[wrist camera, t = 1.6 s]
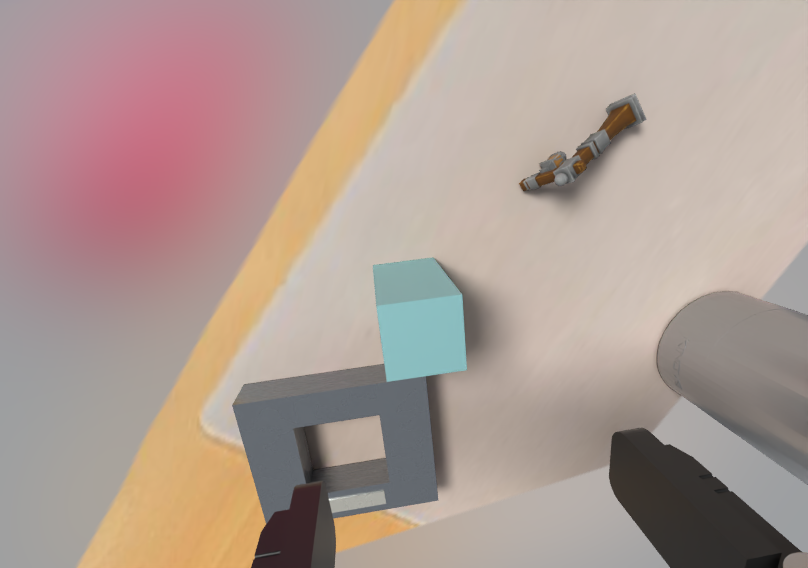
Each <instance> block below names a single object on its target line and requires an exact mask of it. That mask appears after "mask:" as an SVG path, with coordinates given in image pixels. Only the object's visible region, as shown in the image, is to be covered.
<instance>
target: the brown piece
mask: <svg viewBox="0 0 808 568" xmlns="http://www.w3.org/2000/svg"><path fill="white" fill-rule="evenodd" d="M606 110H607V113H608V115H609V116H608V118H607V119H606V120H605V122H604V123H603V125H602V126H601V127H600V129H599V130H598V131H597V132H596V133H593V134H591V135H590V136H589V138H588V139H587V140H586V141H585V142H583V143H582V144H581V145H580V146H578V148H577V149H576V150H577V152H576V153H575V155H574V156H573V157H572V158H570V159H567V160H566V154H565V153H564V152H561V151H560V152H557V153H555V154H552V155H551V156H550V157H549V159H548V160H547V161H544V162H541V163H539V164H540V166H541V168H542V169H541V170H539V171H540V173H537V174H534V175H531V176H530V177H528V178H526V179H523V180H522V181H521V182H520V183H519V184H520V186H521V188H522V190H523V191H526V190H529V189H531V190H533V189H537V188H540V187H541V186H542V185H545V184H548V183H551V182H555V184H556V185H558V186H563V185H565V184H568V183H571V182H574V181H575V179H576V178H577V177H578V176H579V175H580V174H581V173H582V172H583V171H584V170H586V168H587V167H586V165H587V164H588V163H589V162H590V161H591V160H593V159H596V158H597V157H598V156H600V155H599V154H602V152H603V150H604V149H605V148H606V147H607V146H608V145H609V144H611V142H610V140H611V139H612V138H613V137H614V136H615V135H617V134H618V133H619V132H621V131H622V130H623V129H626V128H629V127H631V126H634V125H637V124H640V123H642V122H643V121H645V120H646V117H645V115H644V113H643V110H642V108H641V106H640V103H639V101H638V99H637V96H636V94H635V93H634V94H632V95H630V96H628V97H625V98H623V99H621V100H619V101H616V102H614V103H612V104H610V105H609V106H608V107H607V108H606Z"/></svg>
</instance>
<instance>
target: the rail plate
mask: <svg viewBox="0 0 808 568" xmlns="http://www.w3.org/2000/svg"><path fill="white" fill-rule="evenodd" d="M232 406H233V409H234V413H235V416H236V420H237V423H238V427H239V430H240V434H241V437H242V441H243V444H244V448H245V451H246V455H247V458H248V462H249V465H250V469H251V472H252V476H253V479H254V483H255V486H256V489H257V493H258V496H259V500H260V503H261V507H262V510H263V514H264V517H265V521H266V524H267V523H268V521H269V520H270V518H271V517H272V515H273V514H274V512H277V511H282V510H288V509H289V508H290V504H291V499H292V494H293V490H294V487H295V486H296V485H301V484H306V483H312V482H318V481H325V484H326V488H327V492H328V497H329V502H330V506H331V511H332V516H333V518H339V517H345V516H350V515H356V514H362V513H368V512H373V511H379V510H385V509H391V508H397V507H402V506H408V505H414V504H420V503H426V502H431V501H437V500H438V493H437V483H436V473H435V463H434V453H433V443H432V433H431V423H430V413H429V403H428V393H427V383H426V376H424V377H417V378H410V379H403V380H397V381H390V382H387V379H386V372H385V365H384V364H381V365H374V366H367V367H360V368H354V369H347V370H340V371H333V372H326V373H319V374H313V375H306V376H299V377H292V378H285V379H278V380H272V381H265V382H258V383H251V384H244V385H243V387H242V389H241V391H240V392H239V394H238V396H237V398H236V400H235V401H234V403H233V405H232ZM376 415H380V421H381V427H382V434H383V441H384V448H385V454H386V458H384V459H377V460H371V461H365V462H359V463H353V464H347V465H341V466H335V467H329V468H322V469H316V470H313V467H312V462H311V458H310V453H309V449H308V444H307V440H306V435H305V431H304V427H305V426H311V425H318V424H324V423H331V422H337V421H344V420H350V419H356V418H363V417H369V416H376Z"/></svg>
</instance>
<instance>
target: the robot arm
mask: <svg viewBox="0 0 808 568" xmlns="http://www.w3.org/2000/svg"><path fill="white" fill-rule="evenodd" d="M657 364H658V368H659V372H660V375H661V377H662V378H663V380H664V382H665V383H666V384H667V385H668V386H669V387H671V388H672V389H673V390H675V391H676V392H677V393H679V394H680V395H682V396H683V397H684V398H686V399H687V400H689V401H690V402H692V403H693V404H694V405H696V406H697V407H699V408H700V409H701V410H703V411H704V412H706V413H707V414H708V415H710V416H711V417H712V418H714V419H715V420H717V421H718V422H719V423H721V424H722V425H724V426H725V427H727V428H728V429H729V430H731V431H732V432H734V433H735V434H736V435H738V436H739V437H741V438H742V439H743V440H745V441H746V442H748V443H749V444H751V445H752V446H753V447H755V448H756V449H758V450H759V451H760V452H762V453H763V454H765V455H766V456H767V457H769V458H770V459H772V460H773V461H775V462H776V463H777V464H779V465H780V466H781V467H783V468H785V469H786V470H787V471H789V472H790V473H791V474H793V475H794V476H796V477H797V478H798V479H800V480H801V481H803V482H804V483H805V484H807V485H808V315H806V314H803V313H800V312H797V311H794V310H791V309H788V308H785V307H782V306H779V305H776V304H772V303H769V302H766V301H763V300H760V299H757V298H754V297H751V296H748V295H745V294H742V293H739V292H731V291H723V292H715V293H712V294H709V295H706V296H703V297H701V298H699V299H697V300H695V301H694V302H692V303H690V304H689V305H688V306H686V307H685V308H684V309H683V310H681V311H680V312H679V313H678V314H677V315H676V317H675V318H674V319H673V320H672V321H671V322H670V324H669V325H668V327H667V329H666V330H665V332H664V334H663V336H662V339H661V341H660V344H659V348H658V353H657ZM609 479H610V484H611V487H612V489H613V492H614V494H615V496H616V498H617V499H618V501H619V502H620V503H621V504H622V506H623V507H624V508H625V510H626V511H627V512H628V514H629V515H630V516H631V517H632V519H633V520H634V521H635V523H636V524H637V525H638V526H639V528H640V529H641V530H642V532H643V533H644V534H645V536H646V537H647V538H648V539H649V541H650V542H651V543H652V545H653V546H654V547H655V548H656V550H657V551H658V552H659V554H660V555H661V556H662V557H663V559H664V560H665V561H666V563H667V564H668V565H669V567H670V568H808V553H804V552H802V551H800V550H799V549H798V548H797V547H795V546H794V545H793V544H792V543H791V542H789V540H787V539H786V538H785V537H784V536H783V535H782V534H780V533H779V532H778V531H777V530H776V529H775V528H774V527H772V526H771V525H770V524H769V523H768V522H767V521H765V520H764V519H763V518H762V517H761V516H760V515H759V514H757V513H756V512H755V511H754V510H753V509H752V508H750V507H749V506H748V505H747V504H746V503H745V502H744V501H743V500H741V499H740V498H739V497H738V496H737V495H736V494H735V493H733V492H730V491H729V490H728V487H726V486H725V485H724V484H723V483H722V482H721V481H720V480H718V479H717V478H716V477H713V476H712V474H711V473H710V472H709V471H708V470H707V469H706V468H705V467H703V466H702V465H701V464H700V463H699V462H698V461H696V460H695V459H694V458H693V457H692V456H690V455H688V454H686V453H684V452H682V451H681V450H679V449H677V448H675V447H673V446H671V445H664V444H662V443H661V442H660V441H659V440H658V439H657V438H656V437H655V436H654V435H653V434H652V433H650V432H649V431H648V430H646V429H644V428H637V429H631V430H625V431H619V432H615V433H614V434H613V436H612V444H611V456H610V469H609ZM335 552H336V537H335V526H334V520H333V516H332V511H331V506H330V502H329V497H328V492H327V488H326V484H325V481H318V482H312V483H306V484H301V485H296V486H295V487H294V490H293V494H292V499H291V504H290V508H289V509H288V510H282V511H277V512H274V514H273V515H272V517H271V518H270V520H269V521H268V523H267V524H266V526H265V527H264V529H263V530H262V532H261V534H260V538H259V542H258V545H257V549H256V552H255V559H254V560H253V563H252V567H251V568H334V567H335V566H334V565H335Z"/></svg>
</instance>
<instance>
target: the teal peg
mask: <svg viewBox="0 0 808 568" xmlns="http://www.w3.org/2000/svg"><path fill="white" fill-rule="evenodd" d="M373 273H374V284H375V295H376V306H377V313H378V321H379V328H380V335H381V343H382V350H383V357H384V365H385V372H386V379H387V382H390V381H397V380H403V379H410V378H417V377H424V376H430V375H437V374H444V373H450V372H457V371H464V370H467V364H466V348H465V332H464V315H463V299H462V293H461V292H460V291H459V290H458V288H457V287H456V286H455V285H454V283H453V282H452V281H451V279H450V278H449V277H448V276H447V274H446V273H445V272H444V271H443V269H442V268H441V267H440V265H439V264H438V263H437V262H436V260H435V259H434V258H425V259H418V260H410V261H402V262H394V263H386V264H379V265H373Z"/></svg>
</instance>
